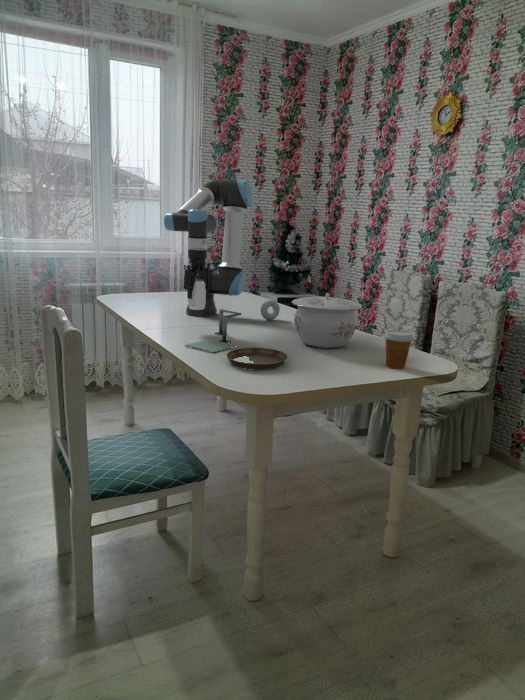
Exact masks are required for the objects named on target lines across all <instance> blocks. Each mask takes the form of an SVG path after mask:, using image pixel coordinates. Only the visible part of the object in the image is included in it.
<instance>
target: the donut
mask: <svg viewBox="0 0 525 700" xmlns="http://www.w3.org/2000/svg"><path fill="white" fill-rule="evenodd" d="M270 307H271V308H272V311H271V312H270V313H269V311H268V309H269V308H270ZM280 307H281V306H280V304H279V303H278V302H277V301H276V300H274V299H267V300H265V301H264V302H263V303H262V304H261V306H260V314H261V316H262V318H263V319H264V320H267V321H272V320H275V319H276V318H277V317H278V316H279V314H280V310H281V309H280Z"/></svg>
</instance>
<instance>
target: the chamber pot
mask: <svg viewBox="0 0 525 700" xmlns="http://www.w3.org/2000/svg"><path fill="white" fill-rule="evenodd" d="M291 303H292V304H293V305H294V306H297V310H296V311H295V313H294V316H293V317H294V319H293V321H294V325H295V326H294V328H295V332H296V333H297V335H298V336H299V338H300V340H301V341H302V343H304V344H305V345H307V346H309V347H313V348H317V349H323V350H324V349H325V350H326V349H329V350H330V349H337V348H341V347H344V346H345V345H347V344H348V342H349V341H350V340H351V339H352V337H353V336H354V334H355V331H356V328H357V324H358V315H357V314H356V311H357V310H360V309H361V308H362V307H363V305H362V304H360V303H358V302H357V301H354V300H350V299H346V298H341V297H332V296H330V293H329V292H326V293H325V296H305V297H298V298H295V299H293V300H292V301H291Z"/></svg>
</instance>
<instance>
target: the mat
mask: <svg viewBox="0 0 525 700" xmlns="http://www.w3.org/2000/svg"><path fill="white" fill-rule="evenodd" d="M185 346H187V347H186V348H189V347H192V348H191V349H193V348H196V349H195V350H197V349H201V350H206V351H211V352H216V351H220V350H224V349H228V348H231V347H235V346H237V347H238V344H233V343H225V342H220V341H219V340H215V339H210V338H208V339H204V340H199V341H196V342H192V343H188V344H184V347H185ZM235 348H236V347H235ZM231 349H232V348H231ZM201 350H200V351H201ZM228 350H229V349H228ZM206 351H205V352H206ZM224 351H225V350H224ZM220 352H221V351H220Z"/></svg>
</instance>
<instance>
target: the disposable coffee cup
mask: <svg viewBox="0 0 525 700" xmlns="http://www.w3.org/2000/svg"><path fill="white" fill-rule="evenodd" d="M384 338H385V366H386V367H387V368H390V369H393V370H395V369H396V370H400V369H401V370H403V369H405V367H406V363H407V360H408V355H409V351H410V347H411V344H412V341H413V339H414V337H413V333H411V332H410V331H406V330H400V329H399V330H398V329H392V330H389V329H388V330H387V331H385V334H384Z"/></svg>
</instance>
